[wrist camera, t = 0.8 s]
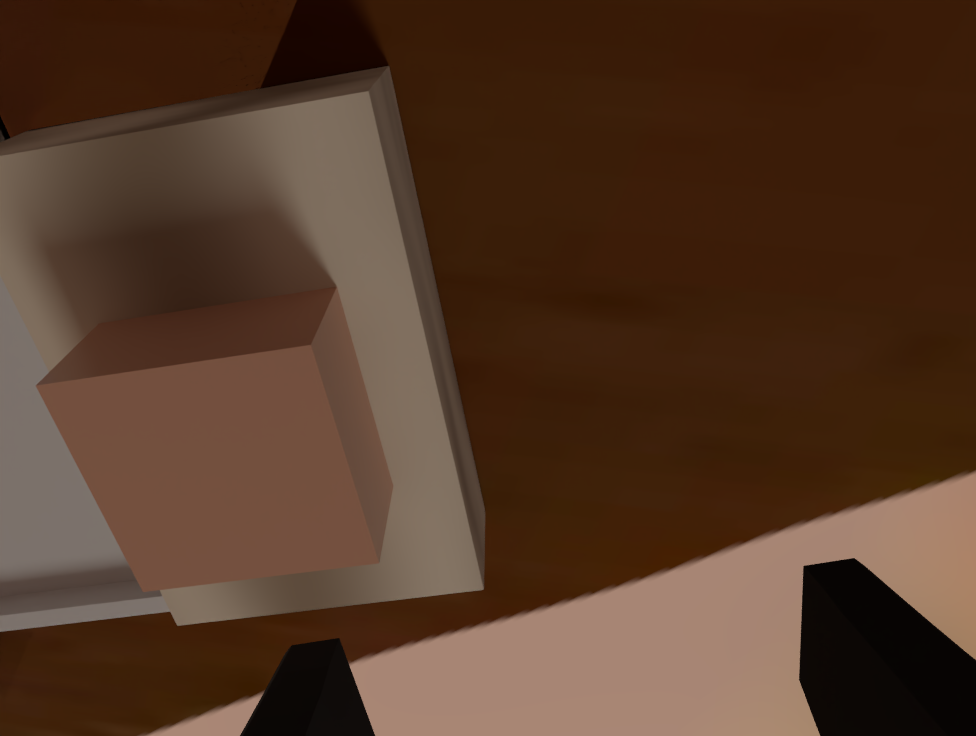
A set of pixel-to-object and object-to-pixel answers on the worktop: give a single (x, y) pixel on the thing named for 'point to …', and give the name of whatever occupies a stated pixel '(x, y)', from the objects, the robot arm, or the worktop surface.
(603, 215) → the worktop surface
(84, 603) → the grey tray
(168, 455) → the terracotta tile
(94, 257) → the birch deck
